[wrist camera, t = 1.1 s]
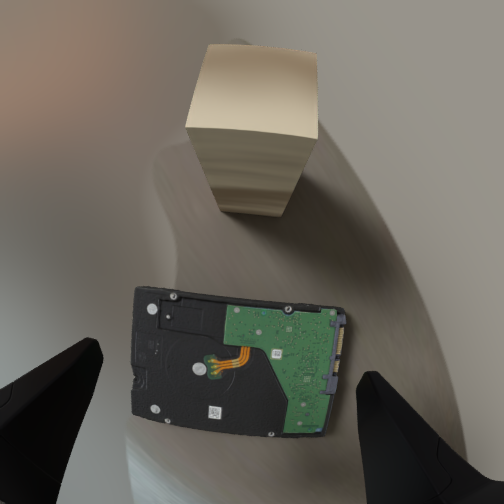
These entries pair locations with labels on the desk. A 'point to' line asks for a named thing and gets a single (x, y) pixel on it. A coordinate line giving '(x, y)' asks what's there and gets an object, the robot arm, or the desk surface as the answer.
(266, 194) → the maple block
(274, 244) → the desk surface
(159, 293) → the disk drive
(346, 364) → the desk surface
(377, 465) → the robot arm
